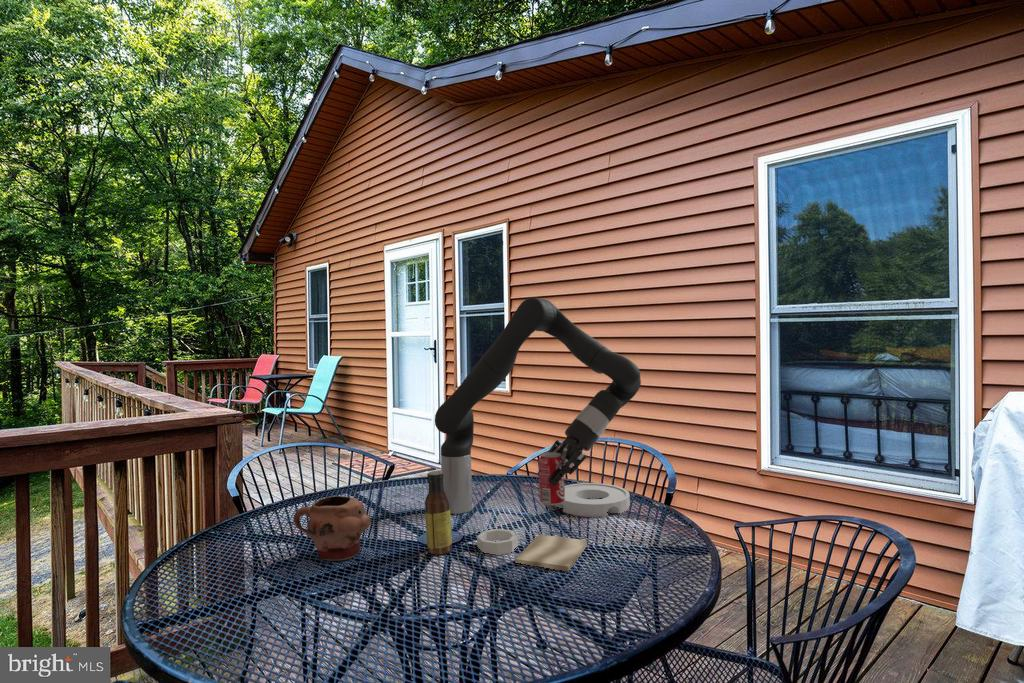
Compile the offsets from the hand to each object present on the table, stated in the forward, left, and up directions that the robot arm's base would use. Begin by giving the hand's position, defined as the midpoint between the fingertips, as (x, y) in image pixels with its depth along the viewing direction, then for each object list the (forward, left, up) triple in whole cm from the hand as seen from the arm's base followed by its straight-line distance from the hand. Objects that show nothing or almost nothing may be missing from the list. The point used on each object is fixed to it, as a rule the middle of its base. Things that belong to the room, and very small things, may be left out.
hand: (545, 480), depth 140 cm
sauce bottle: (-26, -6, -19) cm, 33 cm away
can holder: (-13, +1, -18) cm, 23 cm away
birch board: (+1, +1, -18) cm, 18 cm away
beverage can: (+1, +1, -6) cm, 6 cm away
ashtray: (+1, +43, -19) cm, 47 cm away
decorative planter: (-50, -17, -19) cm, 56 cm away
